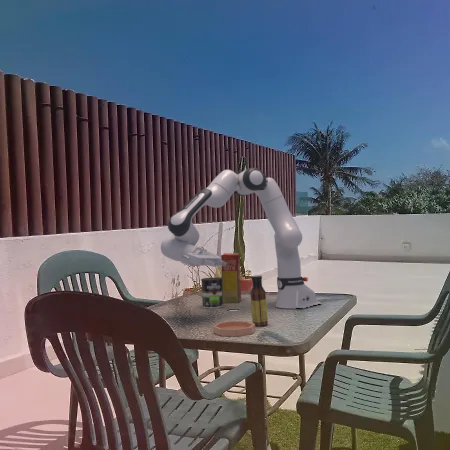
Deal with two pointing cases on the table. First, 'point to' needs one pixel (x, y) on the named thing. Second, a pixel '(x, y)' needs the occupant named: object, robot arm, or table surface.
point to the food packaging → (231, 278)
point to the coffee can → (212, 293)
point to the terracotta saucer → (234, 328)
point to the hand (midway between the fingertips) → (220, 264)
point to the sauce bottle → (258, 302)
